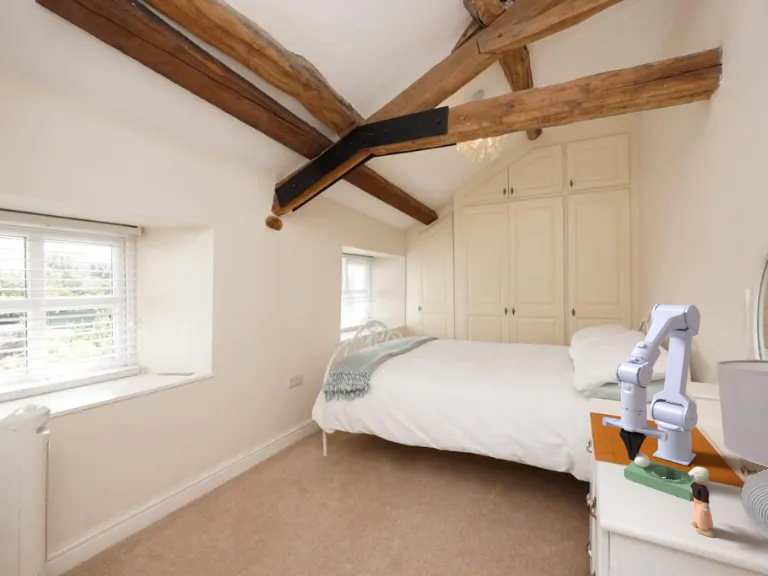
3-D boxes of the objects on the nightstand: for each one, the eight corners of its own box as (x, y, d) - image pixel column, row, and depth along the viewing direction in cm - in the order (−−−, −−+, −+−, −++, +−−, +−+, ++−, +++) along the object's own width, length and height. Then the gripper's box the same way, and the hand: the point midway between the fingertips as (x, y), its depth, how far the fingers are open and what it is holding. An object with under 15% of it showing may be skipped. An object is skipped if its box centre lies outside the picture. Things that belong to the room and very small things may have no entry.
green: (637, 465, 103) (637, 456, 103) (700, 485, 92) (700, 475, 92) (624, 478, 97) (624, 469, 97) (689, 500, 86) (689, 490, 86)
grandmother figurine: (725, 541, 73) (724, 477, 72) (702, 539, 73) (701, 475, 73) (700, 517, 80) (699, 459, 80) (680, 515, 81) (679, 457, 81)
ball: (633, 455, 101) (640, 447, 99) (647, 466, 98) (654, 458, 97) (628, 461, 99) (635, 453, 97) (641, 472, 96) (649, 464, 95)
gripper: (597, 404, 102) (597, 453, 102) (661, 419, 91) (661, 474, 91) (608, 399, 106) (608, 447, 106) (670, 412, 95) (670, 466, 95)
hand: (633, 459), depth 99 cm, fingers closed, pressing on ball
